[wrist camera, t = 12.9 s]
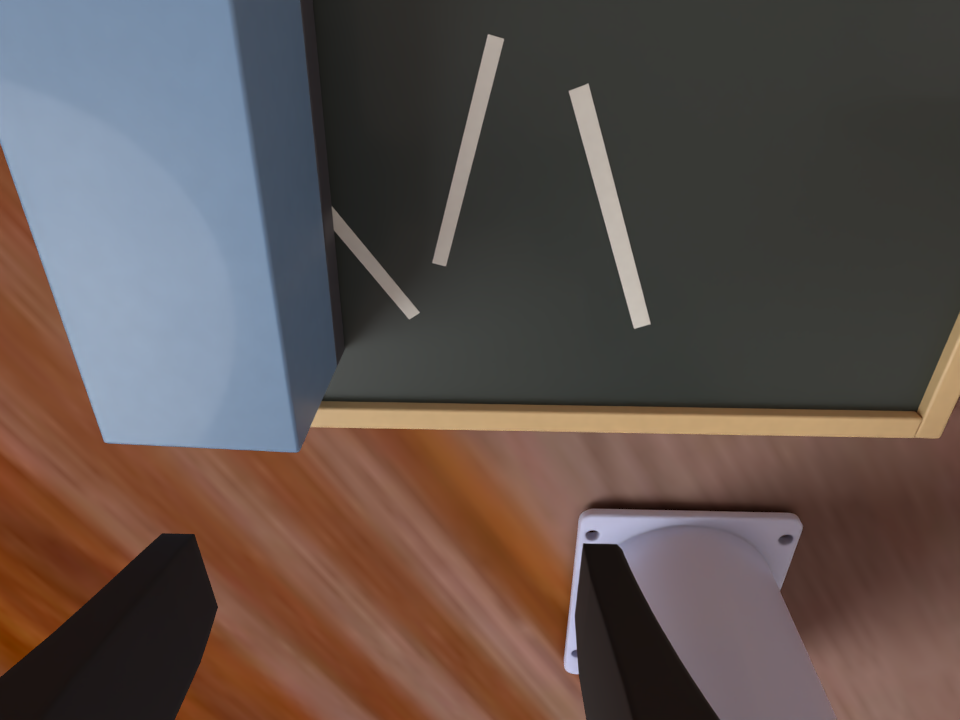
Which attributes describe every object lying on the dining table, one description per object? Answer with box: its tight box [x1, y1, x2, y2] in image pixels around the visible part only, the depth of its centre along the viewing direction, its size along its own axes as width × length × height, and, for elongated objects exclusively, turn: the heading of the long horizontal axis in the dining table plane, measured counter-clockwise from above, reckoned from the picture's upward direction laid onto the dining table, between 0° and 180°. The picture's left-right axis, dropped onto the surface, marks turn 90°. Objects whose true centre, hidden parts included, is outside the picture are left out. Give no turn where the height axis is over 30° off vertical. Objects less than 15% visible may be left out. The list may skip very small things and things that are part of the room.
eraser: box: [0, 0, 345, 452], centre depth 15 cm, size 10×5×5 cm, turn 178°
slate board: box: [310, 0, 960, 438], centre depth 17 cm, size 14×26×1 cm, turn 90°
